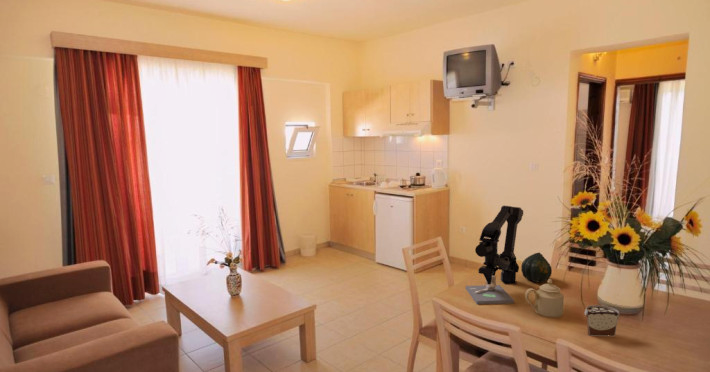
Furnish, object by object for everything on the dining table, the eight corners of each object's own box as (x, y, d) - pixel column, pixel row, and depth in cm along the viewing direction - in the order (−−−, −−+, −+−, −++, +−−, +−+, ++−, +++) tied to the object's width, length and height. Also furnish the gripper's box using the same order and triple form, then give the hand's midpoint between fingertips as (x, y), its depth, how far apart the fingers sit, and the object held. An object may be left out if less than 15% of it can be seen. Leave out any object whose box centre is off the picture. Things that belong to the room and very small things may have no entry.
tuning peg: (489, 286, 206) (489, 273, 205) (497, 290, 202) (497, 276, 201) (472, 291, 201) (472, 277, 200) (479, 294, 196) (479, 280, 195)
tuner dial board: (499, 287, 209) (499, 284, 209) (514, 303, 190) (514, 299, 190) (465, 288, 209) (465, 285, 209) (476, 304, 190) (476, 300, 190)
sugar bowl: (545, 322, 171) (547, 287, 169) (523, 312, 181) (524, 279, 179) (568, 313, 178) (570, 280, 176) (545, 304, 188) (546, 272, 186)
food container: (610, 328, 164) (612, 304, 163) (619, 336, 158) (620, 311, 157) (577, 328, 165) (579, 304, 164) (584, 335, 159) (586, 310, 158)
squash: (521, 274, 211) (542, 252, 210) (511, 266, 226) (530, 245, 225) (542, 292, 212) (563, 270, 210) (531, 283, 227) (550, 262, 225)
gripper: (502, 259, 188) (501, 292, 190) (513, 249, 204) (512, 280, 206) (478, 256, 195) (477, 288, 197) (490, 246, 210) (490, 276, 212)
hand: (490, 283), depth 203 cm, fingers closed on tuning peg, 3 cm apart
